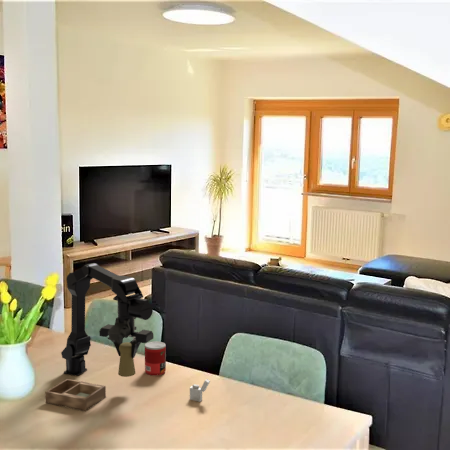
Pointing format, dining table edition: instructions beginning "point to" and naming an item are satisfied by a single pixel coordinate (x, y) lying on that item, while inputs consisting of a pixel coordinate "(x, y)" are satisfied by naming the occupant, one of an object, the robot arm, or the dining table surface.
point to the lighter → (198, 391)
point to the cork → (126, 360)
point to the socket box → (75, 394)
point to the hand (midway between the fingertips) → (126, 356)
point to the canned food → (155, 358)
